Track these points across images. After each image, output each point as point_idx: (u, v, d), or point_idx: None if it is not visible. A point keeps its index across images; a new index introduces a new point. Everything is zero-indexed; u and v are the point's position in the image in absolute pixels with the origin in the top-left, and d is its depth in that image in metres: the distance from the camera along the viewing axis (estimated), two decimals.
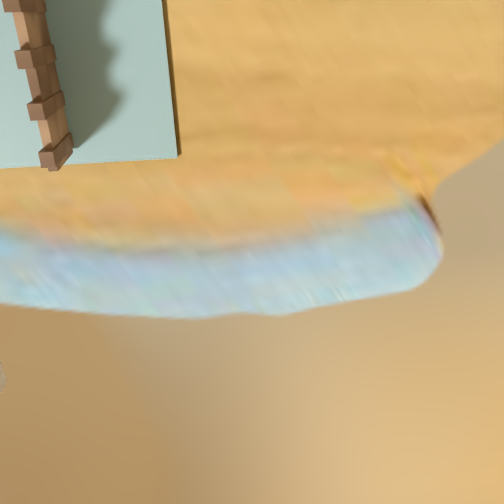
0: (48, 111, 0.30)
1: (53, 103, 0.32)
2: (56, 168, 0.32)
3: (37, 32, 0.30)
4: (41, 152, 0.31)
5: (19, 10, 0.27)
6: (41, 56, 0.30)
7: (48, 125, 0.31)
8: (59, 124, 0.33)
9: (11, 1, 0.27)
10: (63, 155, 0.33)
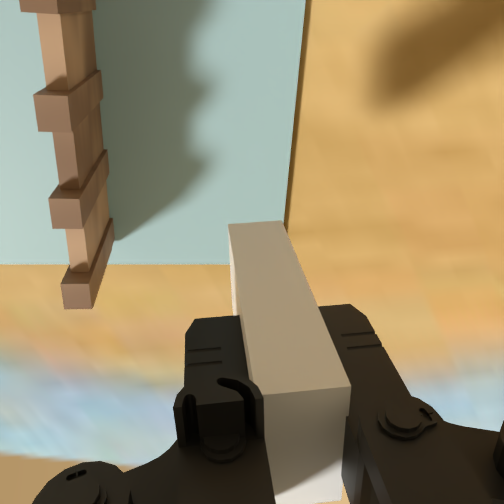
0: (88, 206, 0.16)
1: (95, 183, 0.17)
2: None
3: (79, 52, 0.15)
4: (67, 283, 0.16)
5: (54, 10, 0.12)
6: (84, 100, 0.15)
7: (85, 231, 0.16)
8: (99, 214, 0.18)
9: None
10: (102, 272, 0.18)
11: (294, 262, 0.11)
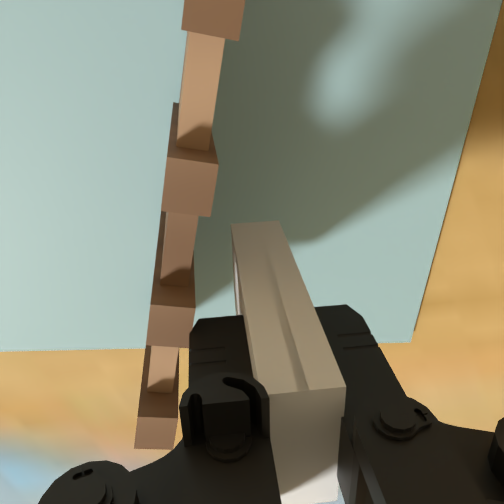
0: None
1: None
2: None
3: None
4: (146, 415, 0.11)
5: (235, 35, 0.07)
6: None
7: None
8: None
9: None
10: None
11: (291, 262, 0.11)
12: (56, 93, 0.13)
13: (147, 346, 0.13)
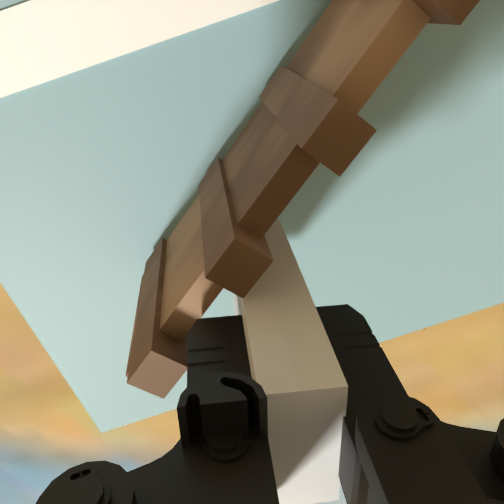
0: None
1: None
2: None
3: None
4: (159, 352, 0.10)
5: (461, 17, 0.08)
6: None
7: (219, 289, 0.10)
8: None
9: None
10: None
11: (292, 262, 0.11)
12: None
13: (159, 287, 0.12)
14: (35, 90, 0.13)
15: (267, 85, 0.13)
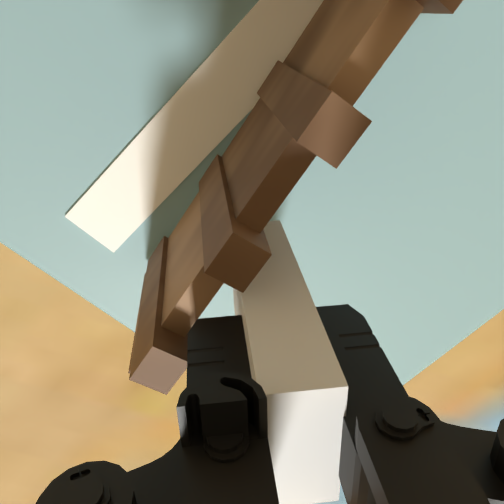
0: None
1: None
2: None
3: None
4: (160, 348, 0.10)
5: (453, 6, 0.08)
6: None
7: None
8: None
9: None
10: None
11: (292, 262, 0.11)
12: (374, 147, 0.15)
13: (160, 284, 0.12)
14: (154, 215, 0.15)
15: (264, 81, 0.13)
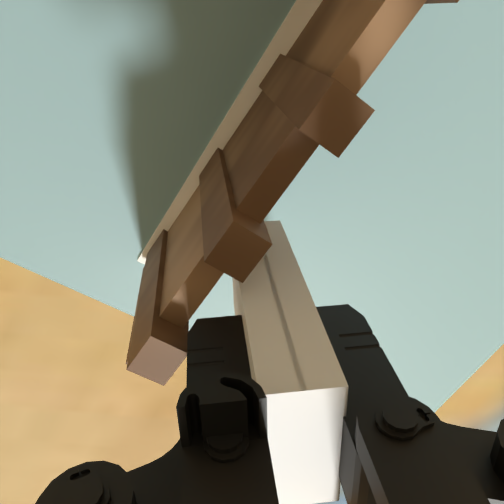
0: None
1: None
2: None
3: None
4: (159, 338, 0.10)
5: None
6: None
7: (219, 276, 0.10)
8: None
9: None
10: None
11: (292, 262, 0.11)
12: (418, 136, 0.15)
13: (159, 276, 0.12)
14: None
15: (267, 74, 0.13)
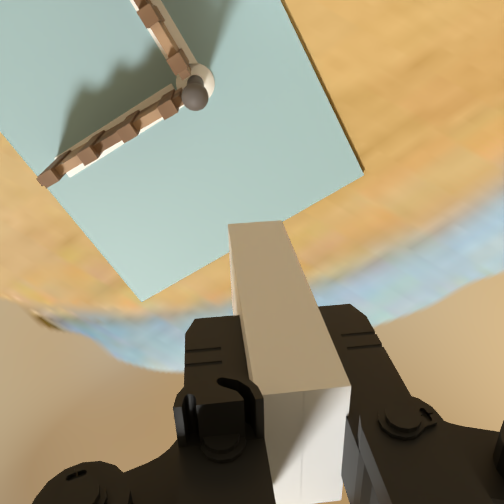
0: None
1: None
2: None
3: None
4: (52, 171, 0.31)
5: (165, 118, 0.30)
6: None
7: (79, 164, 0.32)
8: None
9: (168, 110, 0.30)
10: None
11: (294, 262, 0.11)
12: (182, 162, 0.37)
13: (60, 159, 0.33)
14: (89, 166, 0.37)
15: None
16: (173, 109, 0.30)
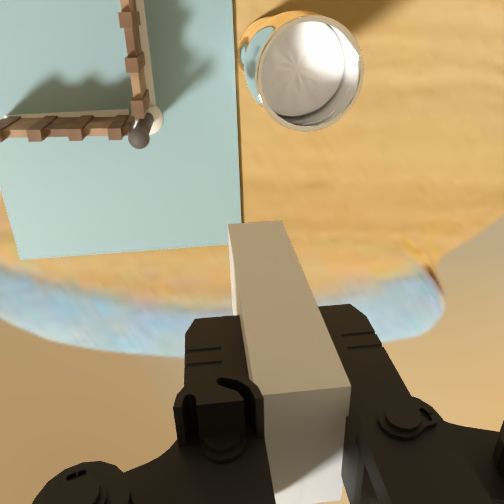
0: None
1: None
2: None
3: None
4: None
5: (109, 139, 0.37)
6: None
7: (24, 137, 0.37)
8: None
9: (115, 135, 0.37)
10: None
11: (294, 262, 0.11)
12: (108, 169, 0.44)
13: (9, 124, 0.38)
14: None
15: (85, 115, 0.41)
16: (119, 136, 0.37)
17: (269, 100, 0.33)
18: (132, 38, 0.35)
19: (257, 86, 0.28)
